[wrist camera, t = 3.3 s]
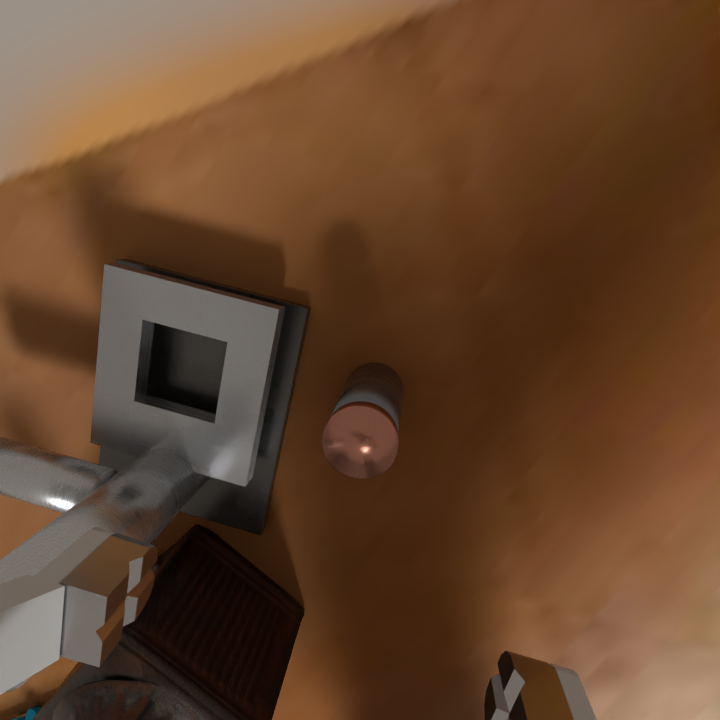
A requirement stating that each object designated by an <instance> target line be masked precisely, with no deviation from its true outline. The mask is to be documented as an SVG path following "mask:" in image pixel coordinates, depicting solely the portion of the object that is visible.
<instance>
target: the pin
mask: <svg viewBox="0 0 720 720" xmlns="http://www.w3.org/2000/svg"><path fill="white" fill-rule="evenodd" d="M401 398H402V385H401V381H400V379H399V377H398V375H397V374H396V373H395V371H394V370H392V369H391V368H390V367H388V366H386V365H384V364H380V363H368V364H365V365H362V366H360V367H359V368H357V369H356V370H355V371H354V372H353V374H352V375H351V377H350V379H349V381H348V383H347V385H346V387H345V389H344V391H343V393H342V395H341V396H340V398H339V400H338V402H337V404H336V406H335V408H334V410H333V412H332V414H331V416H330V418H329V420H328V422H327V424H326V426H325V428H324V431H323V435H322V447H323V451H324V454H325V456H326V458H327V460H328V461H329V463H330V464H331V465H332V466H333V467H334V468H335V469H336V470H338V471H339V472H341V473H342V474H344V475H347V476H349V477H353V478H360V479H363V478H371V477H375V476H377V475H380V474H381V473H383V472H385V471H386V470H387V469H388V468H389V467H390V466H391V465H392V463H393V462H394V460H395V458H396V456H397V452H398V443H399V428H400V413H401Z"/></svg>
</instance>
